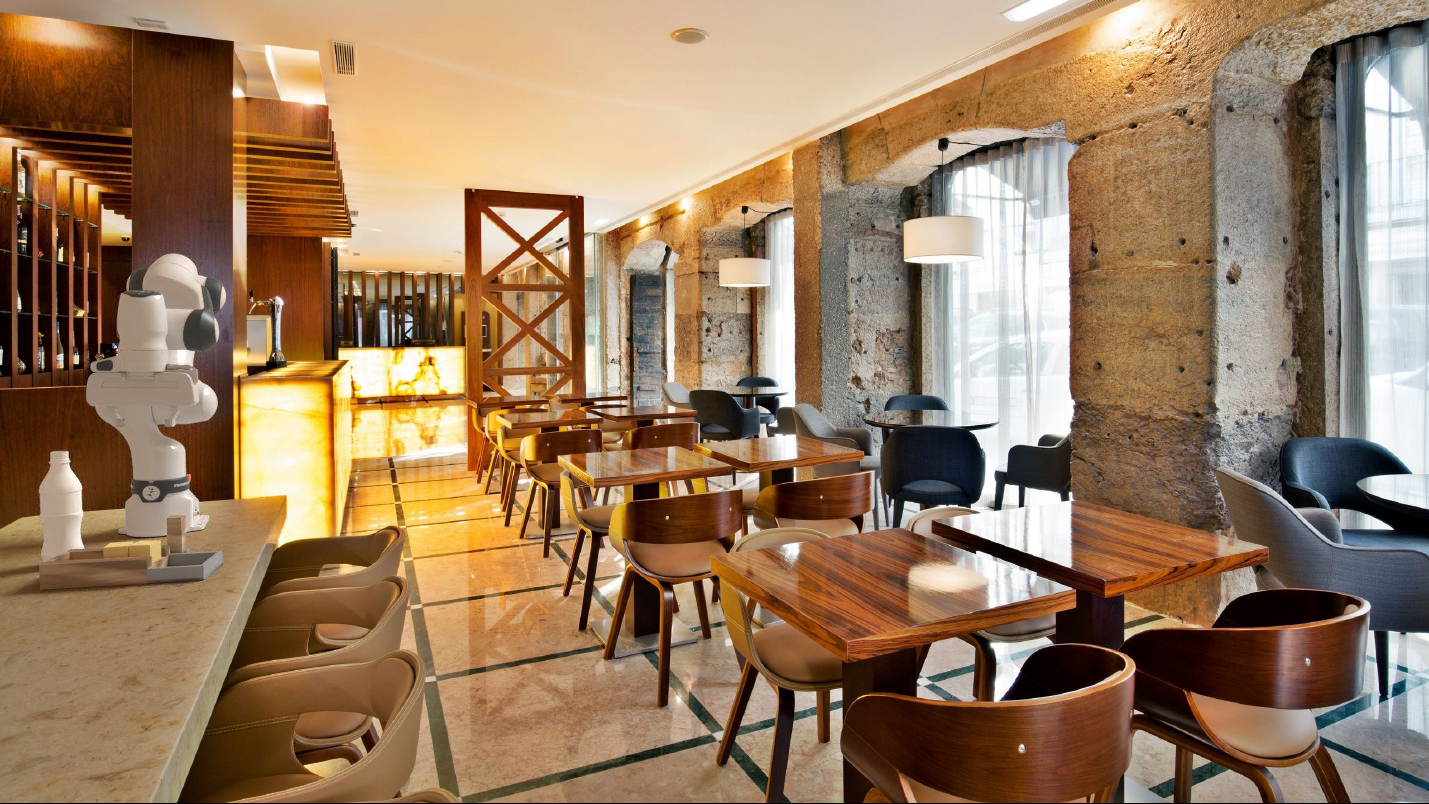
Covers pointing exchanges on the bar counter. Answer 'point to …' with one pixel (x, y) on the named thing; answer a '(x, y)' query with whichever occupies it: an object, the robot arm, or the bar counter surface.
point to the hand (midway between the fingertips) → (145, 426)
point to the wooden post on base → (177, 534)
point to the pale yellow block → (117, 550)
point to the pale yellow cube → (146, 549)
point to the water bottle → (60, 508)
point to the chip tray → (186, 567)
